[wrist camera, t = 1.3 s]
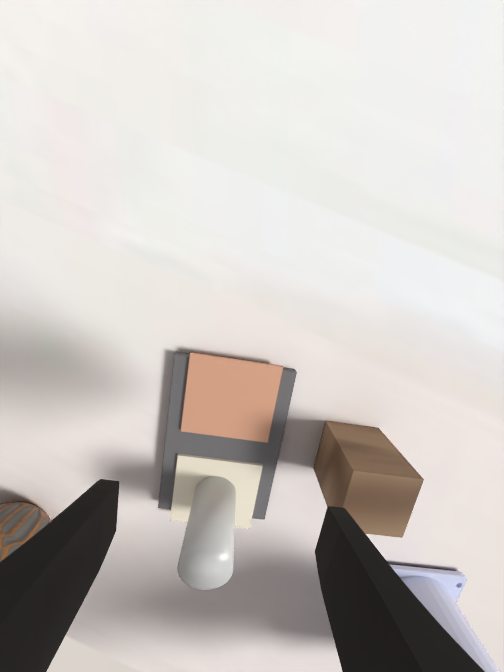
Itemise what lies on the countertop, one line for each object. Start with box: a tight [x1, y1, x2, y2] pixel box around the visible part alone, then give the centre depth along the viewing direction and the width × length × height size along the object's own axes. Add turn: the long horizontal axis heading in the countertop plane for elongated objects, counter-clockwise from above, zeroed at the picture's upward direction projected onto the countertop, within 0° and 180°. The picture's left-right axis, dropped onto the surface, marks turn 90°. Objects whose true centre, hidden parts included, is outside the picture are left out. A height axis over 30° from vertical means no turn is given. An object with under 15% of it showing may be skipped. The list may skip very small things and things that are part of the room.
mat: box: [158, 352, 297, 529], centre depth 19 cm, size 13×8×1 cm, turn 170°
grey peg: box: [177, 476, 236, 590], centre depth 17 cm, size 3×3×5 cm
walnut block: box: [314, 421, 424, 537], centre depth 17 cm, size 4×4×5 cm
